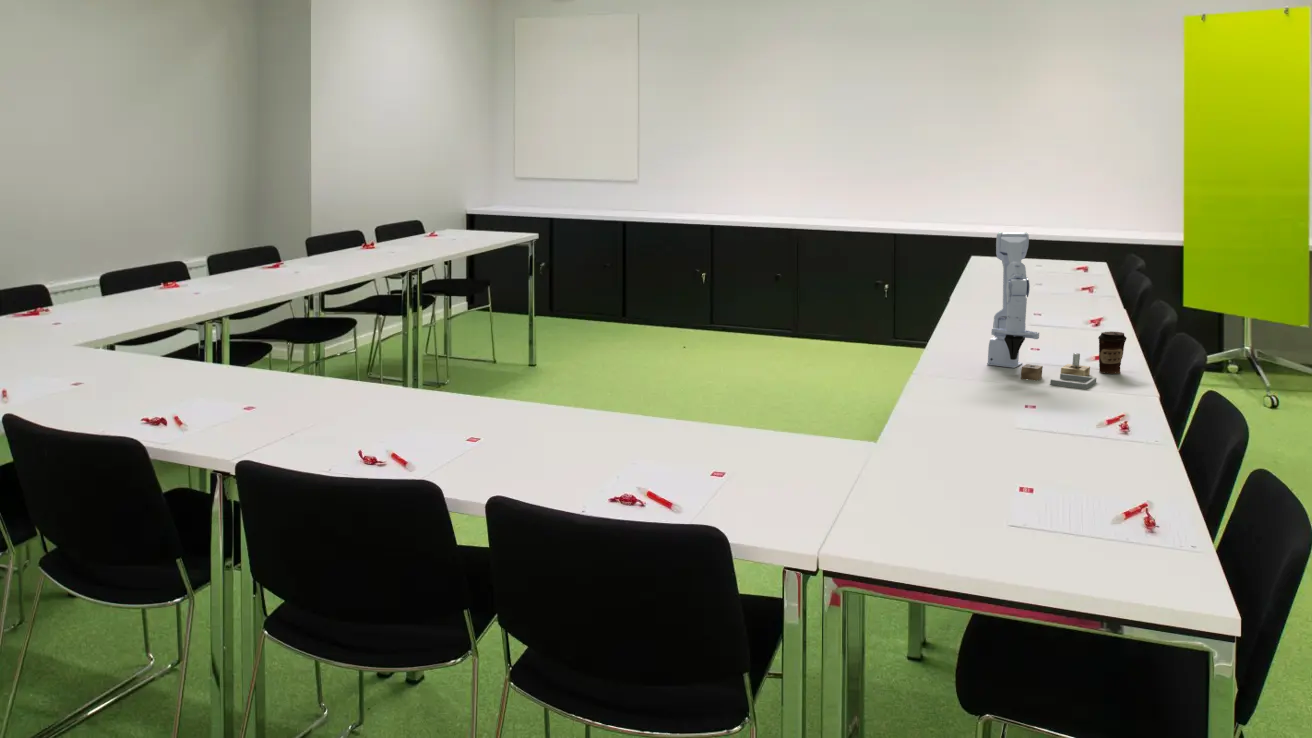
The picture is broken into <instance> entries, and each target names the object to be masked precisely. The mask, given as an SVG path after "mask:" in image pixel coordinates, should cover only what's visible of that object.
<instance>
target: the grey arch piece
mask: <svg viewBox="0 0 1312 738" xmlns="http://www.w3.org/2000/svg"><path fill="white" fill-rule="evenodd" d="M1059 379H1062V380H1059ZM1059 379H1050V383H1049V385H1051V386H1057V387H1058V386H1061V387H1066V388H1074V389H1075V388H1076V389H1081V388H1082V390H1088V389H1089V388H1090V387H1092V386H1093V385H1095V384H1096V383H1097V379H1098V378H1097V377H1093V376H1078V375H1070V374H1061V373H1060V374H1059ZM1066 380H1068V381H1066ZM1075 381H1076V382H1075ZM1084 381H1085V382H1084ZM1083 382H1084V383H1083Z"/></svg>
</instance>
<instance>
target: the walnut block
mask: <svg viewBox="0 0 1312 738" xmlns="http://www.w3.org/2000/svg"><path fill="white" fill-rule="evenodd" d="M1020 370H1021V371H1020V372H1021V374H1020V379H1021V380H1026V379H1028V380H1027V381H1034V380H1035V381H1034V382H1037V380H1038V381H1040V380H1041V379H1042V378H1043V365H1038V364H1037V365H1036V364H1030V363H1029V364H1028V363H1026V364H1024V365H1022V366H1021V369H1020Z"/></svg>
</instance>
